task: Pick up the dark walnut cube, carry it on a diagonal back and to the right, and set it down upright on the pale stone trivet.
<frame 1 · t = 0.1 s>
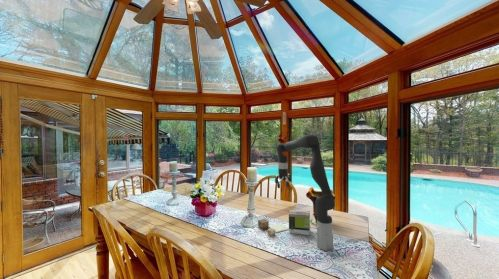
hand: (283, 187, 187), 29 cm above the table, fingers open, 8 cm apart
stone trivet: (278, 228, 177), on the table
decorative vase: (320, 222, 188), on the table
maple block: (271, 235, 166), on the table
walnut cube: (263, 228, 178), on the table
tea box: (299, 232, 171), on the table
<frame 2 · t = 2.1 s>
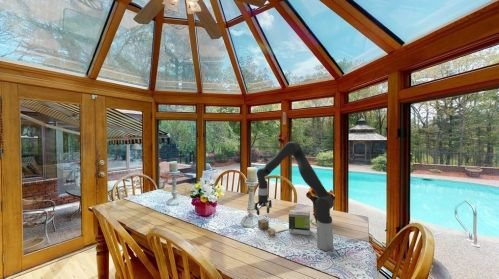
hand: (263, 214, 178), 11 cm above the table, fingers open, 8 cm apart
nothing on the table moved.
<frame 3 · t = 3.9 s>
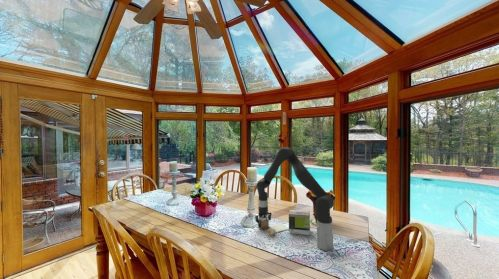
hand: (263, 226, 178), 1 cm above the table, fingers closed on walnut cube, 6 cm apart
walnut cube: (263, 228, 178), on the table, touching gripper
everything else where it was.
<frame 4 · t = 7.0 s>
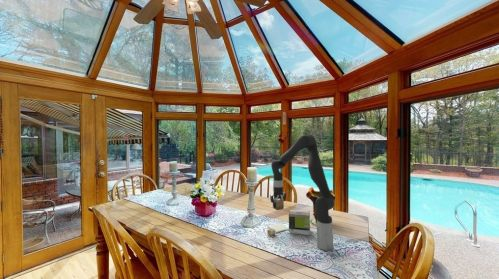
hand: (278, 207, 176), 17 cm above the table, fingers closed on walnut cube, 6 cm apart
walnut cube: (278, 208, 177), point 15 cm above the table, touching gripper
everything else where it was.
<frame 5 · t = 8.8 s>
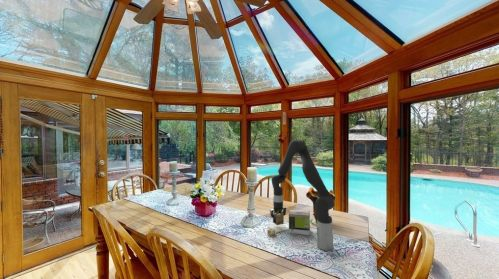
hand: (278, 221, 177), 5 cm above the table, fingers closed on walnut cube, 6 cm apart
walnut cube: (278, 223, 177), point 4 cm above the table, touching gripper
everything else where it was.
when the fingers open (3 cm above the table, at t = 10.3 s): walnut cube stays where it is, resting on stone trivet.
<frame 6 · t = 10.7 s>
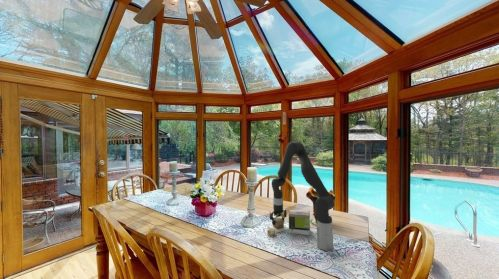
hand: (278, 223, 177), 3 cm above the table, fingers open, 8 cm apart
walnut cube: (278, 227, 177), point 1 cm above the table, touching stone trivet
everything else where it was.
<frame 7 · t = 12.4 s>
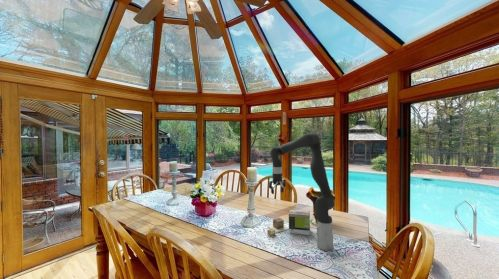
hand: (277, 193, 178), 27 cm above the table, fingers open, 8 cm apart
nothing on the table moved.
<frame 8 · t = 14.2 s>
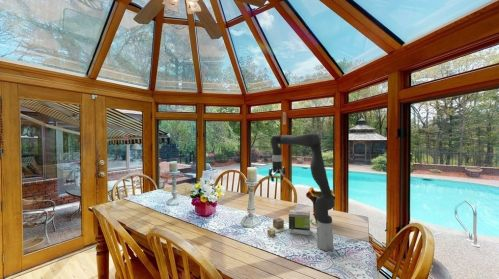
hand: (277, 180, 180), 36 cm above the table, fingers open, 8 cm apart
nothing on the table moved.
at the end: walnut cube inside the target area on the stone trivet (0.0 cm from its centre), point 0.8 cm above the stone trivet's base; walnut cube tilted 0°; the gripper is holding nothing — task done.
